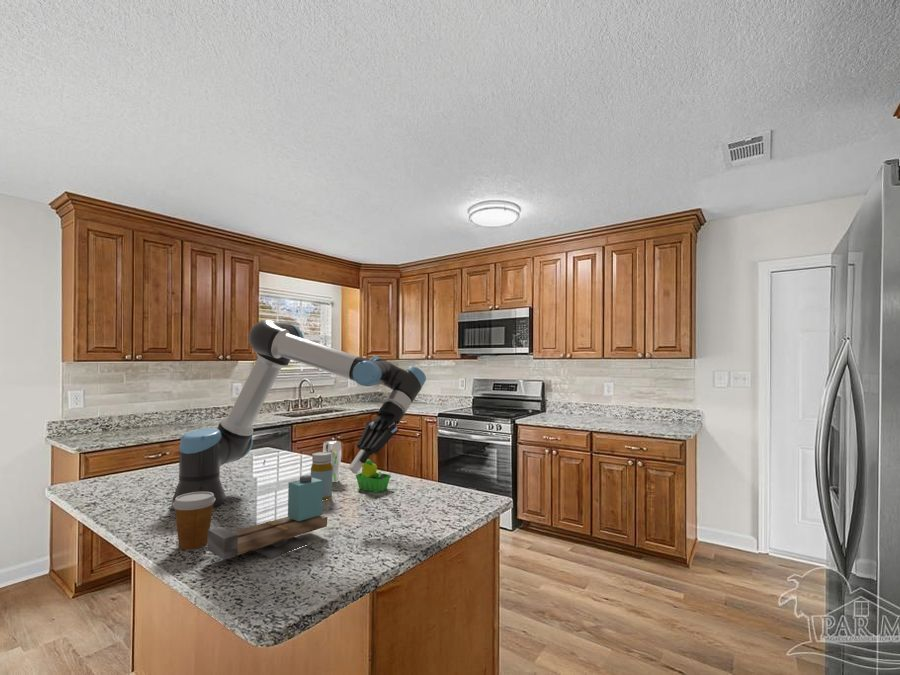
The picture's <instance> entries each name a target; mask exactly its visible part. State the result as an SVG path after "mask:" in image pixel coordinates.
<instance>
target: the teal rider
mask: <svg viewBox="0 0 900 675" xmlns="http://www.w3.org/2000/svg"><path fill="white" fill-rule="evenodd" d="M287 487H288V490H287V491H288V494H287V499H288V500H287V516H288V518H291V519H293V520H296V521H302V520H305V519H309V518H312V517H316V516H319V515H323V501H322V480H319V479H316V478H312V476H311V475H309V474H307V475H301V476H299V479H298V480H292V481H289V482H288V486H287Z"/></svg>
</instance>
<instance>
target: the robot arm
mask: <svg viewBox="0 0 900 675" xmlns="http://www.w3.org/2000/svg"><path fill="white" fill-rule="evenodd" d="M248 344H249V345H250V347H251V348H252V349H253V351H255V354H256V357H257V358H256V361H255V362H254V365H253V367H252V368H251V370H250V373H249V375H248V377H247V378H246V380H245V382H244V385H243V386H242V388H241V390H240V393H239V394H238V396H237V398H236V400H235V402H234V404H233V406H232V408H231V410H230V412H229V414H228V415H227V417H225V418H222V419H221V420H220V421H219V424H218V425H217V427H216V428H211V427H209V428H200V429H194V430H191V431H189V432H186V433H184V434H183V435H182V436H181V437H180V440H179V441H180V442H179V447H178V449H179V457H178V458H179V464H178V465H179V466H178V467H179V468H178V483H177V486H176V489H175V491H174V494H173V497H172V500H171V509H172V510H174V511H175V508H174V506H173V503H174V502H175V498H176V497H178V496H180V495H183V494H187V493H192V492H211V493H213V494H214V497H215V498H216V500H215V502H214V504H213V508H216V507H218V506H221V505H223V504H224V503H225V501H226V499H225V498H226V495H225V494H226V493H225V491H224V488H223V485H222V481H221V478H220V477H221V476H220V475H221V474H220V473H221V472H220V470H221V468H220V467H221V466H222V465H226V464H229V463H233V462H235V461H239V460H241V459H242V458H244V457H245V456H246V455H248V454H249V453H250V451H251V449H252V448H253V445H254V444H253V443H254V439H253V434H254V429H253V427H252V426H253V424H254V423H255V420H256V419H257V417H258V415H259V413H260V411H261V408H262V407H263V405H264V403H265V401H266V399H267V396H268V395H269V393H270V391H271V388H272V387H273V385H274V383H275V381H276V380H277V377H278V375H279V374H280V371H281V369H282V368H285V367H288V365H289V364H290V362H291V361H293V362H297V363H299V364H300V363H301V364H303V365H306V366H309V367H312V368H315V369H318V370H320V371H325V372H327V373H331V374H333V375H336V376H339V377H342V378H346V379H348V380H352V381H354V382H355V383H357V384H358V385H360V386H362V387H373V386H377V385H383V386H385V387H387V388H388V389H391V392H390V393H389V395H388V396H387V397H386V399H385V401H384V402H383V404H381V406H380V407H379V409H378V416H376V418H374V420H373V421H372V422H370V421H367V422H366V423H365V426H364V429H363V432H362V434H361V436H360V438H359V440H358V442H357V444H356V448H358V451H357V453H356V454H355V456H354V457H353V460H352V462H351V463H350V464H349V466H348V469H349V471H351V473H352V474H355V475H356V474H359V471H360V470H361V468H362V465H363V464H364V463H365V462H366V461H367V459H370V456H372V455H373V454H375V455H377V454H378V453H379V452H380V451H381V450H382V449H383V448H384V446H386V444H387V443H388V442H389V441H390V440H391V439H392V437H394V435H396V434H397V433H399V431H400V429H399V428H398V427H397V425H399V423H400V422H402V421H401V420H402V419H403V418H404V416H405V414H407V411H408V409H409V408H410V407H411V405H412V404H413V402H414V401H415V399H416V398H417V396H418V394H419V393H420V392H421V390H422V388H423V386H424V385H425V382H426V381H427V376H426V374H425V373H424V371H423V370H422V369H420V368H419V367H417V366H409V367H407V368H406V370H405V369H403V368H400V367H399V366H397V365H395V364H393V363H391V362H389V361H388V360H385V359H384V358H382V357H378V356H376V355H375V356H372V357H370V358H369V359H367V358H365V357H361V356H358V355H355V354H351V353H349V352H345V351H343V350H340V349H336V348H333V347H330V346H327V345H324V344H322V343H318V342H314V341H311V340H310V339H306V338H304V335H303V332H302V330H301V329H300V328H299V327H298V326H297V325H294V324H293V323H289V322H285V321H284V322H282V321H276V320H266V319H265V320H261V321H258V322H257V323H255V324H254V325H253V326H252V327H251V328H250V331H249V334H248Z"/></svg>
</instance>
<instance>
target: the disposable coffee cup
mask: <svg viewBox="0 0 900 675" xmlns="http://www.w3.org/2000/svg"><path fill="white" fill-rule="evenodd" d="M215 500H216V498H215V497H214V494H213V493H211V492H192V493H187V494H183V495H180V496H178V497H176V498H175V502H174V503H173V506H174V508H175V510H174V513H175V514H174V515H175V523H176V531H177V541H178V542H177V543H178V548H179V549H180V550H195V549H199V548H202V547H204V546H207V539H208V530H209V529H211V528H210V527H211V522H212V516H213V509H214V507H213V504H214V502H215Z"/></svg>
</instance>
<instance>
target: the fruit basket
mask: <svg viewBox="0 0 900 675" xmlns="http://www.w3.org/2000/svg"><path fill="white" fill-rule="evenodd" d="M361 468H362V469H361V472H360V473H357V474H355V479H356V481H357V485H358V489H360V490H364V491H368V492H373V491H374V493H379V492H382V491H383V492H384V491H385V490H387V489H388V486H389V482H390V479H391V477H392V475H391V474H386V473H381V471H379V472H377V469H378V466H377V464H376V463H374V462H372V460H371V459H370V458H368V459H367V461H366V462H365V463H364V464H363V465H362V467H361Z"/></svg>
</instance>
